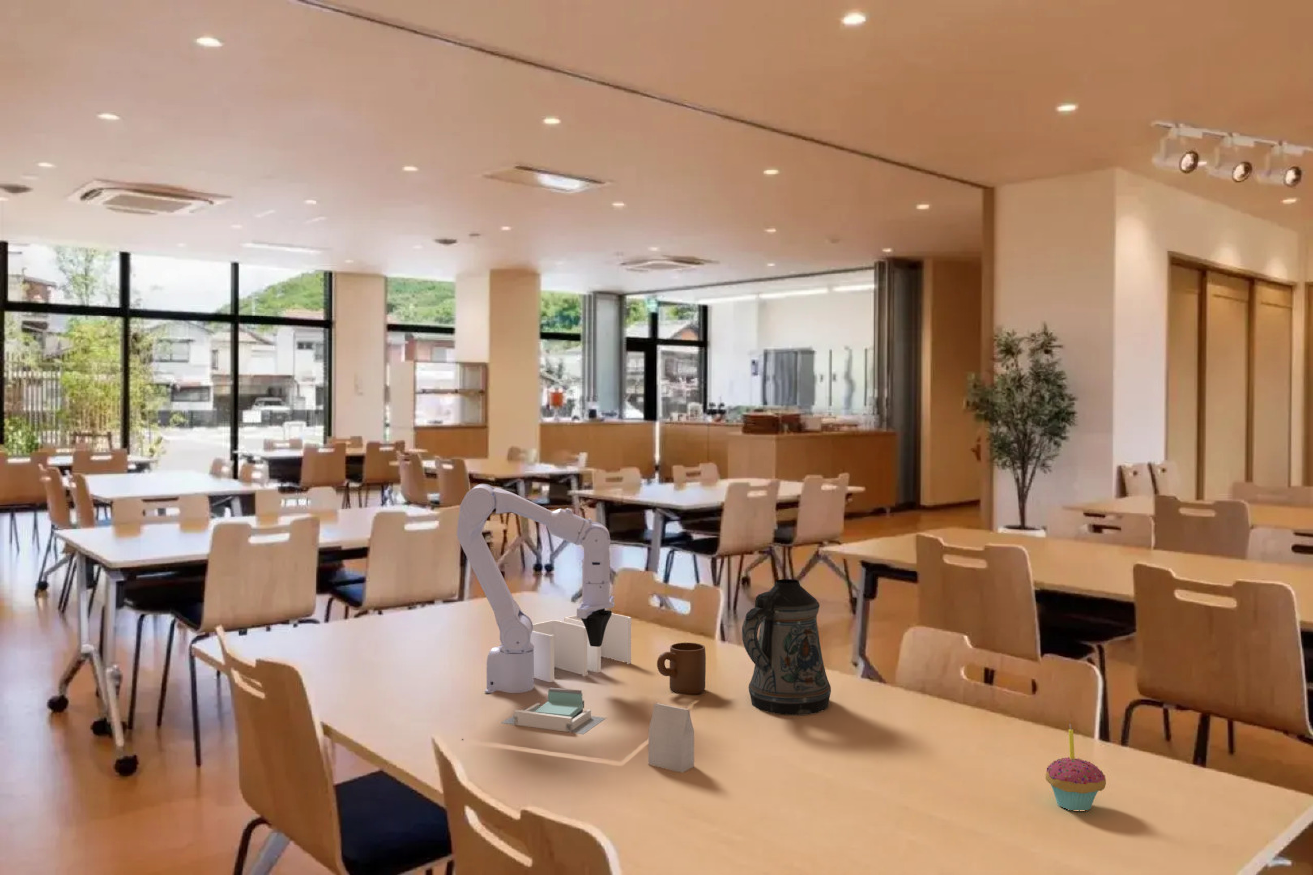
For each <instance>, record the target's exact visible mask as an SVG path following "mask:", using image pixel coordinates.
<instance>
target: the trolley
mask: <svg viewBox="0 0 1313 875" xmlns="http://www.w3.org/2000/svg"><path fill="white" fill-rule="evenodd" d="M547 693H548V694H547V701H546V702H545V703H543V704H542V705H540V708H538V709H537V710H536V711H534V712H538V713H546V714H553V715H561V716H568V717H572V718H573V717H574V716H575V715H576V714H577V715H580V714H581V713H583V712H584V709H585V700H584V699H583V692H582V689H581V690H580V689H571V688H569V689H568V688H558V687H557V688H556V687H549V688H548V691H547Z"/></svg>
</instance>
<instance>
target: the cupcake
mask: <svg viewBox="0 0 1313 875" xmlns="http://www.w3.org/2000/svg"><path fill="white" fill-rule="evenodd" d="M1074 737H1075V736H1074V729H1072V724H1071V723H1069V728H1068V745H1069V746H1068V747H1069V748H1068V749H1069V756H1068V757H1061V758H1057V760H1053V761H1052V762H1051V763H1050V764H1049V765H1047V767H1046V772H1045V781H1046V782H1047V783H1048V784H1049V785H1050V786H1051V788H1052V791H1053V794H1054V797H1055V801H1056V804H1057V806H1058V805H1059V806H1058V807H1060V806H1061V807H1063V808H1066V809H1069V810H1079V811H1080V810H1089V809H1090V808H1091V809H1092V805H1093V804H1094V800H1095V798H1096V796H1097V794H1098V792H1101V791H1103V790H1104V789H1105V788H1106V785H1107V779H1106V775H1105V774H1104V773H1103V771H1102V770H1100V768H1099V767H1098V766H1096V764H1094V763H1092V762H1091V761H1088V760H1083V759H1082V758H1075V757H1076V756H1075V740H1074ZM1061 807H1060V808H1061ZM1063 808H1062V809H1063ZM1066 809H1065V810H1066ZM1091 809H1090V810H1091ZM1069 810H1068V811H1069ZM1090 810H1089V811H1090Z"/></svg>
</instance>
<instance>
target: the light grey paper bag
mask: <svg viewBox="0 0 1313 875" xmlns="http://www.w3.org/2000/svg"><path fill="white" fill-rule="evenodd" d="M648 727H649V728H648V740H647V741H648V748H647V749H648V753H647V754H648V763H647V764H650V765H649V766H652V765H654V766H653V767H656V766H657V768H660V767H661V769H664V768H667V769H666V770H669V769H670V770H669V771H673V772H677V771H678V772H677V773H681V772H683V773H685V772H687V771H688V770H690V769H691V768H693V767H695V729H694V727H693V722H692V718H691V713H690V709H688V708H687V709H686V708H684V707H683V708H681V707H678V706H672V705H667V704H663V703H658V702H655V703H654V704H653V709H652V714H651V719H650V722H649V726H648Z"/></svg>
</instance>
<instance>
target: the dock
mask: <svg viewBox="0 0 1313 875" xmlns="http://www.w3.org/2000/svg"><path fill="white" fill-rule="evenodd" d="M540 707H541V703H539V702H536V703H535V704H532V705H531V706H529V707H525V708H524V709H515V710H513V715H512V716H510V717H509V718H507V719H505V720H503V721H502V722H501V724H506V725H508V724H509V725H514V726H521V727H528V728H535V729H536V728H537V729H540V730H541V729H542V730H549V731H550V730H551V731H556V732H564V733H571V734H578V735H584V734H586V733H588V732H589V731H590V730H591V729H593V728H594V727H596V726H598V725H599V724H600V723H602V722H603V721H605V719H606V717H601V716H595V715H594V716H593V715H592V710H591V709H585V710H583V712H582V713H581V714H580V715H577V714H576V715H575V716H574V717H573V718H572V717H568V716H561V715H553V714H546V713H538V712H534V711H536V710H537V709H538V708H540Z"/></svg>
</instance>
